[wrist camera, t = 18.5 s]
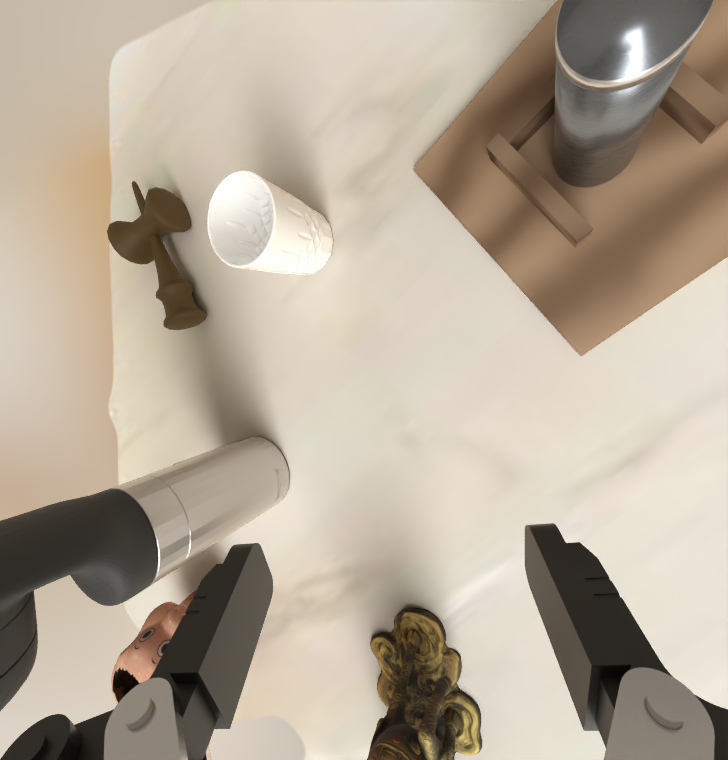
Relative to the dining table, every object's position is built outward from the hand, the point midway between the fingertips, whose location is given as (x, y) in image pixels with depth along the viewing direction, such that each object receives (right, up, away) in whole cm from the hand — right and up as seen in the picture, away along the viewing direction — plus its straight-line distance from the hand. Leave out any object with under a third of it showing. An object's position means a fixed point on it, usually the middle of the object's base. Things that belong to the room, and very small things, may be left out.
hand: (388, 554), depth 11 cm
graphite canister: (+16, +23, +16) cm, 32 cm away
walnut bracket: (+17, +23, +17) cm, 33 cm away
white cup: (-7, +20, +29) cm, 36 cm away
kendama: (-26, +22, +39) cm, 52 cm away
